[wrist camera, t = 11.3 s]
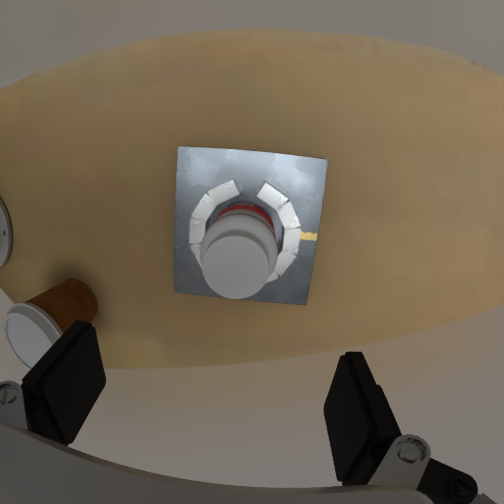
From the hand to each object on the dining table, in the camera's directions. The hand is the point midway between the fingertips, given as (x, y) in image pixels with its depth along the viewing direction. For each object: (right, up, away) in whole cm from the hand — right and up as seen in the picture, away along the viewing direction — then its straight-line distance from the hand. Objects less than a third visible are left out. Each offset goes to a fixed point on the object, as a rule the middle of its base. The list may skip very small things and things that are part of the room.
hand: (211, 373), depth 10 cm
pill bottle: (+1, +7, +21) cm, 22 cm away
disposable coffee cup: (-22, -2, +26) cm, 34 cm away
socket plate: (+1, +7, +22) cm, 23 cm away
